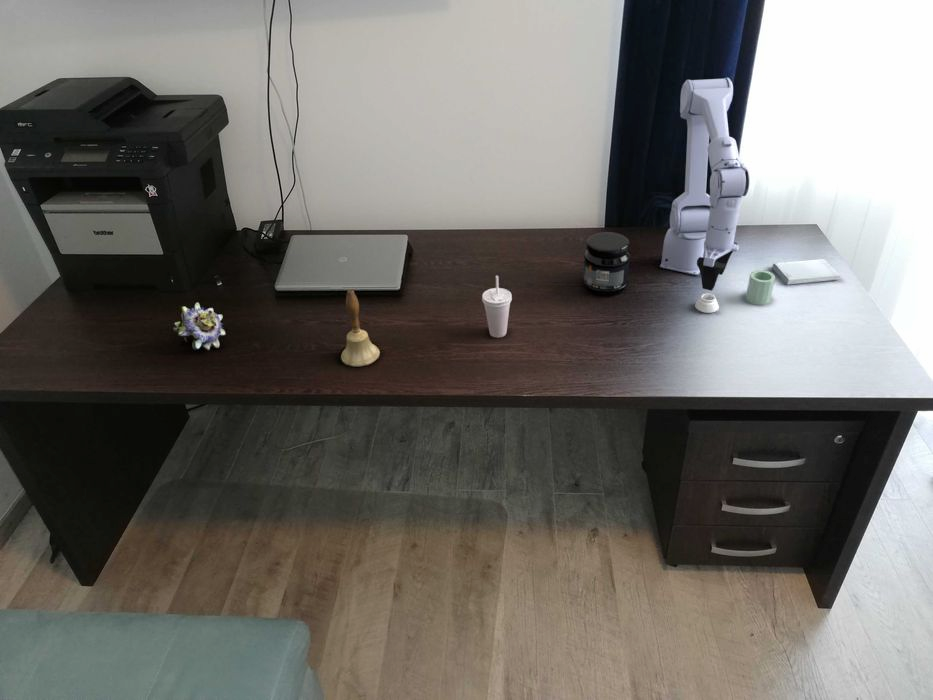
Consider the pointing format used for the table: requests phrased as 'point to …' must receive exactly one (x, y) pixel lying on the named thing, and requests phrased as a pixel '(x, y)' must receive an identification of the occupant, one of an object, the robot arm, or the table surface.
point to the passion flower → (200, 327)
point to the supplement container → (606, 263)
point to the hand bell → (357, 338)
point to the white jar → (707, 303)
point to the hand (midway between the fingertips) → (712, 281)
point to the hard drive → (805, 271)
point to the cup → (760, 287)
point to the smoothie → (497, 309)
